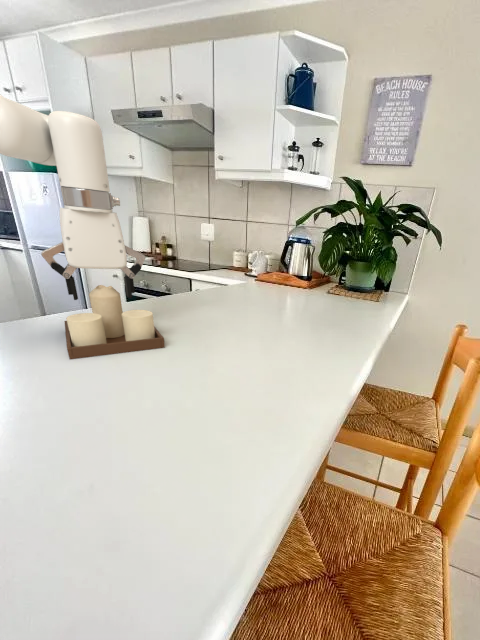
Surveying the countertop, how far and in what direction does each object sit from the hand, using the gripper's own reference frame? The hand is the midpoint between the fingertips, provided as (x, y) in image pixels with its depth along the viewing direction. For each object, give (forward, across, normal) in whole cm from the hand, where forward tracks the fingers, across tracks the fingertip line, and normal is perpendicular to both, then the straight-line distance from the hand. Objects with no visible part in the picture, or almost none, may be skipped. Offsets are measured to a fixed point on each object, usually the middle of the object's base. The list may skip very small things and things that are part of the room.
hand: (103, 297), depth 66 cm
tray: (+8, 0, +3) cm, 9 cm away
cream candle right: (+8, -5, +7) cm, 12 cm away
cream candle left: (+8, +4, +7) cm, 11 cm away
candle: (+8, 0, 0) cm, 8 cm away
